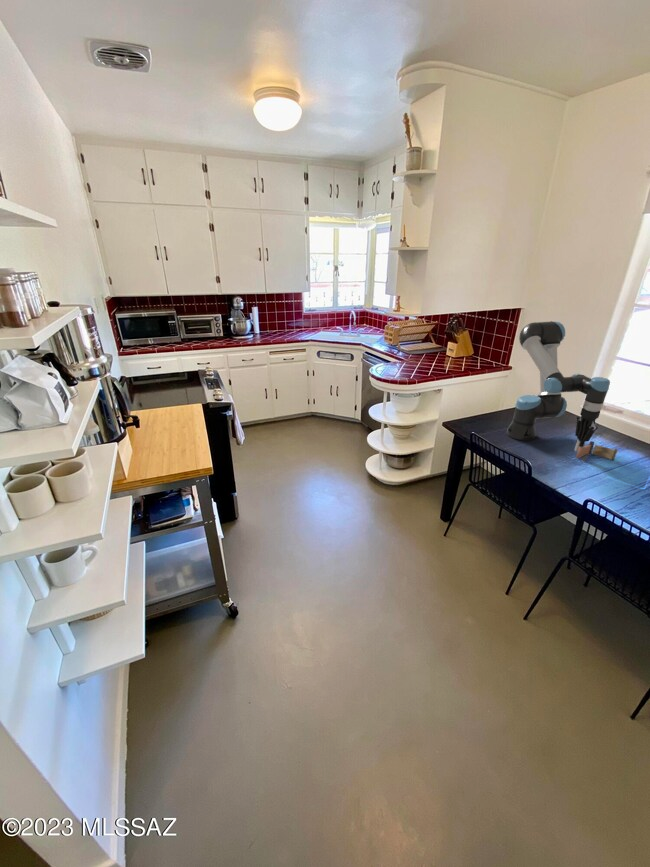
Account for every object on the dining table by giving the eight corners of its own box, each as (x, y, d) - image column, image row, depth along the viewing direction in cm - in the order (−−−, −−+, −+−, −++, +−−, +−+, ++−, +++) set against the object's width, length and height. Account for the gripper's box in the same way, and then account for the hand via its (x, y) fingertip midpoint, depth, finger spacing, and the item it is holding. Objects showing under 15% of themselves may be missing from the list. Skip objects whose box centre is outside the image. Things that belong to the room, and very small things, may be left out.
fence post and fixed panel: (586, 452, 190) (589, 442, 187) (587, 451, 191) (590, 440, 188) (613, 460, 182) (617, 449, 179) (614, 459, 183) (618, 448, 180)
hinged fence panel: (585, 453, 190) (589, 443, 187) (588, 453, 189) (591, 444, 186) (575, 457, 186) (578, 447, 183) (577, 458, 185) (580, 448, 182)
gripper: (575, 404, 182) (563, 444, 193) (591, 414, 171) (577, 457, 181) (591, 403, 182) (577, 444, 193) (608, 414, 170) (592, 456, 181)
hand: (577, 450), depth 187 cm, fingers closed
